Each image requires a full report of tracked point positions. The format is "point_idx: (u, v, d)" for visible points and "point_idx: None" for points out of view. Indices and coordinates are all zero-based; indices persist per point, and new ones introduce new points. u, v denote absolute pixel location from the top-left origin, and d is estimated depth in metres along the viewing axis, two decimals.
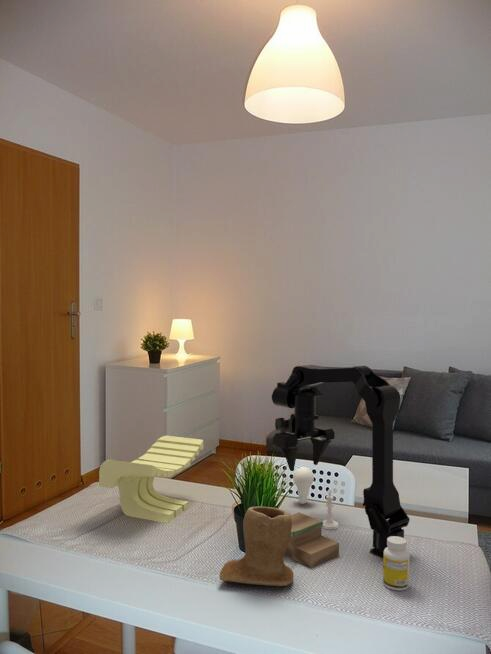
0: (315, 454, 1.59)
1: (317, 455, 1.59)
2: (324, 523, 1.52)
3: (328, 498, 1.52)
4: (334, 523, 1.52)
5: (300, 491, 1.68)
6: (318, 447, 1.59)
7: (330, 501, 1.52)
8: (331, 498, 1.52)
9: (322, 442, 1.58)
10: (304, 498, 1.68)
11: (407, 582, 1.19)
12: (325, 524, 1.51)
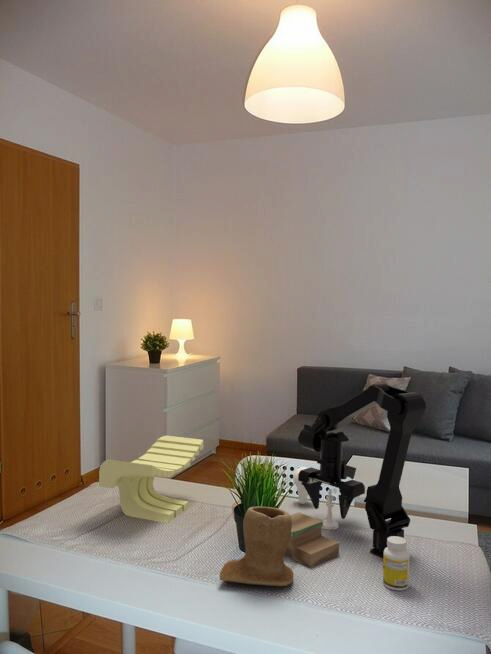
0: None
1: None
2: (324, 523, 1.52)
3: (328, 498, 1.52)
4: (334, 523, 1.52)
5: (300, 491, 1.68)
6: None
7: (330, 501, 1.52)
8: (331, 498, 1.52)
9: None
10: (304, 498, 1.68)
11: (407, 582, 1.19)
12: (325, 524, 1.51)
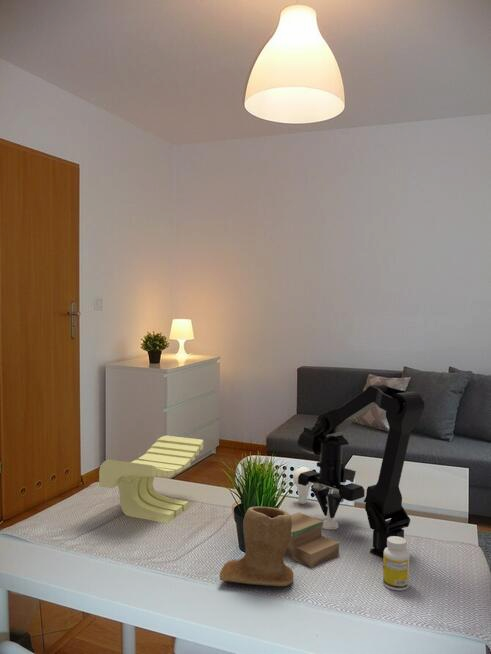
0: None
1: None
2: (324, 523, 1.52)
3: None
4: (334, 523, 1.52)
5: (300, 491, 1.68)
6: None
7: None
8: None
9: None
10: (304, 498, 1.68)
11: (407, 582, 1.19)
12: (325, 524, 1.51)
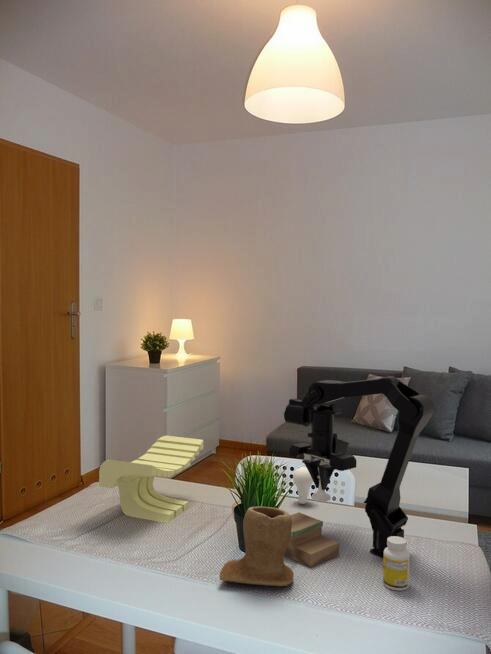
0: None
1: None
2: (315, 495, 1.47)
3: None
4: (326, 495, 1.47)
5: (300, 491, 1.68)
6: None
7: None
8: None
9: None
10: (304, 498, 1.68)
11: (407, 582, 1.19)
12: (316, 496, 1.47)
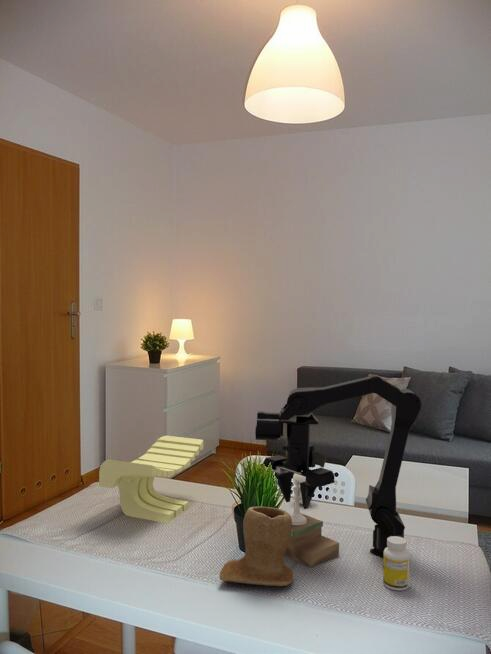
0: None
1: None
2: (291, 518, 1.37)
3: (295, 490, 1.37)
4: (302, 518, 1.37)
5: None
6: None
7: (297, 494, 1.37)
8: (298, 490, 1.37)
9: None
10: None
11: (407, 582, 1.19)
12: (292, 519, 1.37)
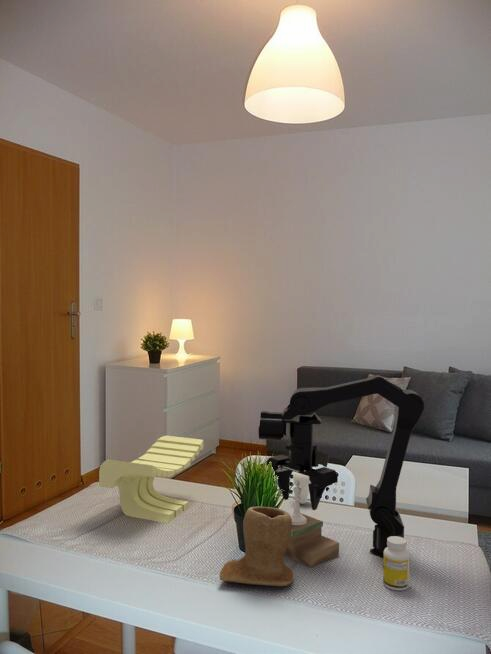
0: None
1: None
2: (291, 518, 1.37)
3: (295, 490, 1.37)
4: (302, 518, 1.37)
5: None
6: None
7: (297, 494, 1.37)
8: (298, 490, 1.37)
9: None
10: (304, 498, 1.68)
11: (407, 582, 1.19)
12: (292, 519, 1.37)
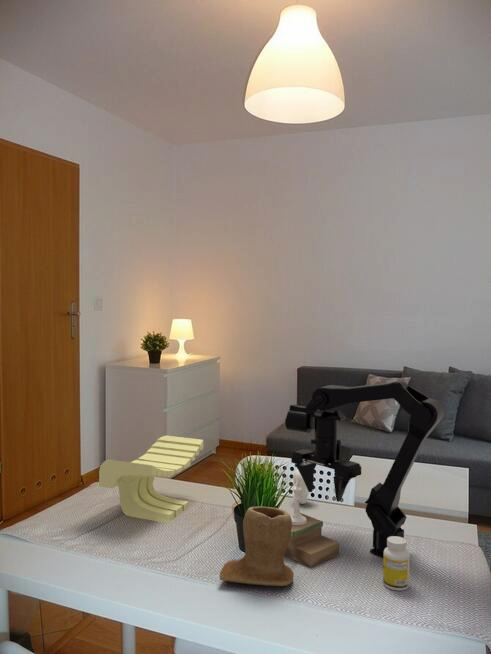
0: None
1: None
2: (291, 518, 1.37)
3: (295, 490, 1.37)
4: (302, 518, 1.37)
5: None
6: None
7: (297, 494, 1.37)
8: (298, 490, 1.37)
9: None
10: (304, 498, 1.68)
11: (407, 582, 1.19)
12: (292, 519, 1.37)
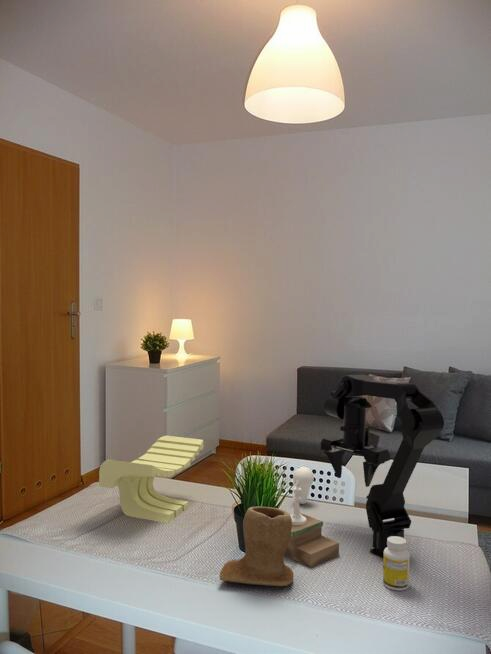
0: None
1: None
2: (291, 518, 1.37)
3: (295, 490, 1.37)
4: (302, 518, 1.37)
5: None
6: None
7: (297, 494, 1.37)
8: (298, 490, 1.37)
9: None
10: (304, 498, 1.68)
11: (407, 582, 1.19)
12: (292, 519, 1.37)
